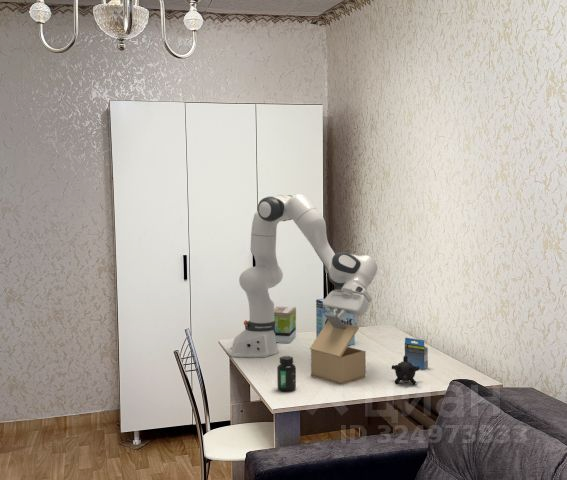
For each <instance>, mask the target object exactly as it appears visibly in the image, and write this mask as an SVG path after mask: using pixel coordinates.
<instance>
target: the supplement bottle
mask: <svg viewBox="0 0 567 480" xmlns="http://www.w3.org/2000/svg"><path fill="white" fill-rule="evenodd" d="M293 363H294V357H293V356H290V355H284V356H281V357H279V364H278V365H277V367H276V371H277V377H276V379H277V386H276V387H277V390H278V391H279V392H283V393H289V392H294V391H296V389H297V374H296V373H297V369H296V365H295V364H293Z"/></svg>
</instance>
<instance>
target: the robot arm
mask: <svg viewBox="0 0 567 480" xmlns="http://www.w3.org/2000/svg"><path fill="white" fill-rule="evenodd" d="M291 220H292V221H293V222H294V223H295V225H296V226H297V228H298V229H299V230H300V231H301V233H302V234H303V235H304V237H305V238H306V240H307V241H308V242H309V244H310V245H311V247H312V248H313V250H314V252H315V253H316V255H317V256H318V257H319V259H320V261H321V263H322V264H323V265H324V267H325V269H326V271H327V275H328V279H329V281H330V283H331V284H332V285H334V286H336V287H339V288H340V289H338V288H335V289H333V290H331V291H330V292H329V293H328V294H327V296H326V297H325V298H323V299H324V301H323V306H324V307H325V308H326V309H328V310H333V311H334V314H335V315H337V316H338V318H339V319H340V320H341V318H343V317H344V316H346V314H347V313H348V314H354V315H355V316H360V317H362V316H364V315H365V314H366V312H367V311H368V309H369V306H370V303H372V301H373V298H372V296H371V295H370V293H369V292H368V291H367V289H368V287H369V286H370V285H371V284H372V282H373V280H374V279H375V277H376V274H377V272H378V267H379V266H378V263H377V262H376V260H375V258H373V257H372V256H369V255H366V254H364V255H357V254H353V253H350V252H347V251H339V252H337V253H335V251H334V250H333V248H332V247H331V245H330V243H329V241H328V237H327V236H328V235H327V224H326V221H325V219H324V216H323V214H322V213H321V211H320V210H319V209H318V208H317V206H316V205H315V204H314V203H313V202H312V201H311V200H310V199H309V198H308V197H307V196H306V195H304V194H302V193H297V194H294V195H285V194H284V195H283V194H280V195H279V194H278V195H274V196H266V197H264V198H262V199H261V200H260V201H259V202H258V204H257V210H256V211H255V213H254V215H253V218H252V224H251V233H250V248H249V249H250V253H251V254H252V255H253V258H254V260H255V266H252V267H249V268H247V269H245V270H244V271H242V272H241V273H240V275H239V280H238V281H239V286H240V288H241V289H242V290H243V291H244V292H245V294H246V297H247V300H248V308H249V310H248V311H249V312H248V313H249V320H244V321H243V326H244V330H242V331H241V332H240V333H239V334H238V335H236V336H235V337H234V339H233V342H232V347H229V348H228V349H227V354H228V356H229V357H232V358H239V357H240V358H268V357H269V356H273V355H276V354H278V353H279V348H278V345H277V344H278V343H276V338H275V332H276V323H275V320H274V309H275V303H274V301H273V300H272V299H271V297H270V293H269V289H271V288H275V287H276V286H277V285H279V283H281V282H282V280H283V277H284V274H283V273H284V272H283V270H282V268H281V267H280V265H279V263H278V259H277V252H276V251H277V247H276V246H277V230H278V229H277V227H278V224H279V223H280V222H286V221H291ZM340 312H341V313H340ZM339 313H340V314H339ZM338 314H339V315H338Z"/></svg>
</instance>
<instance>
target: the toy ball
mask: <svg viewBox="0 0 567 480" xmlns="http://www.w3.org/2000/svg"><path fill="white" fill-rule="evenodd" d="M402 358H403V361H400V362H398V364H393V365H391V370H393V371H394V373H395V377H396V379H394V383H395V385H398V384H399V383H400V382H401V381H402V382H410V383H411V385H416V383H417V381H416V380H415V376H416V372H418V371H420V368H419V367H418V366H417V367H416V366H413V364H411V363H410V362H408V356H405V355H403V357H402Z"/></svg>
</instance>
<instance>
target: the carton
mask: <svg viewBox="0 0 567 480" xmlns="http://www.w3.org/2000/svg"><path fill="white" fill-rule="evenodd" d="M366 352H367V351H366V350H363V349H358V348H355V347H350V346H348V347H347V348H346V350H345V351H344V353H343V355H342V356H341V357H337V356H333V355H329V354H325V353H321V352H318V351H314V350H311V349H310V369H311V370H310V372H311V373H310V375H311V376H310V377H314V378H316V379H317V378H318V379H320V380H323V381H328V382H331V383H334V384H337V385H341V386H342V385H345V384H348V383H351V382H354V381H357V380H361V379H364V378H366V373H367V372H366V367H367V366H366V360H367V359H366V354H367V353H366Z"/></svg>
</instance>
